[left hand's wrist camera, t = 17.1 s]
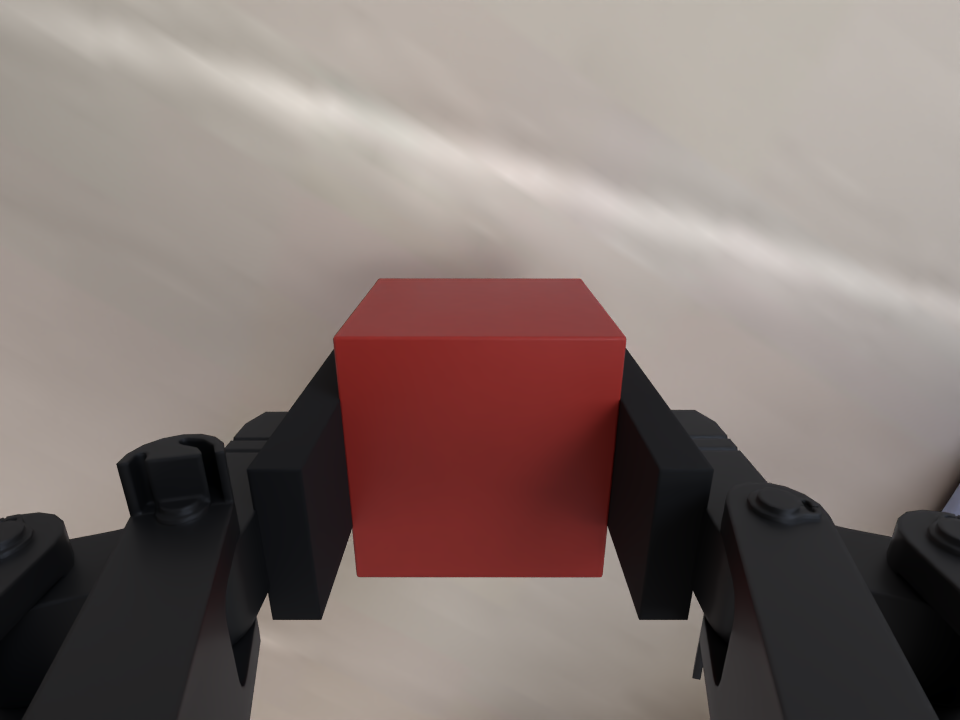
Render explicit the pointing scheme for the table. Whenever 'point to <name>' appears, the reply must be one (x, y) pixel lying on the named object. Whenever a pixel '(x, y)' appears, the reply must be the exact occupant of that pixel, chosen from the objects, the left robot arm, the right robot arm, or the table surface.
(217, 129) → the table surface
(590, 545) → the block
